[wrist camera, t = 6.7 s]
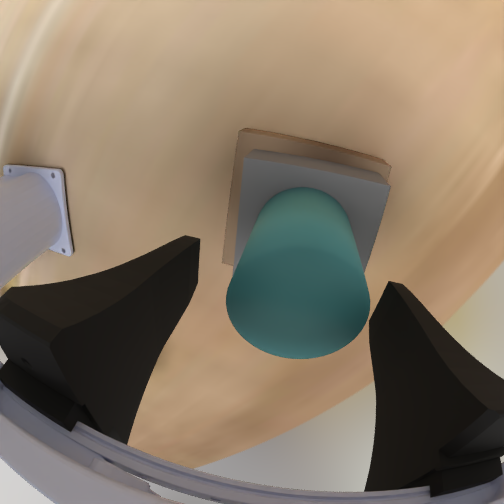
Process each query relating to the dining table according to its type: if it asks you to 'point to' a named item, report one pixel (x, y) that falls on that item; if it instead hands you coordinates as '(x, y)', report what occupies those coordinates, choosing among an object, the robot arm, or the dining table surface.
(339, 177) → the grey square block
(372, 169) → the walnut slab
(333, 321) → the teal cylinder
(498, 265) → the dining table surface
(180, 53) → the dining table surface
